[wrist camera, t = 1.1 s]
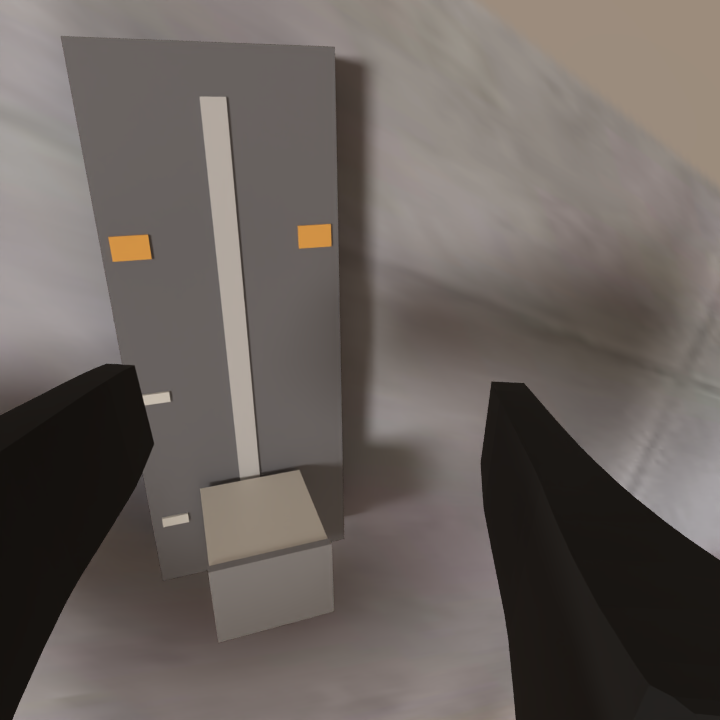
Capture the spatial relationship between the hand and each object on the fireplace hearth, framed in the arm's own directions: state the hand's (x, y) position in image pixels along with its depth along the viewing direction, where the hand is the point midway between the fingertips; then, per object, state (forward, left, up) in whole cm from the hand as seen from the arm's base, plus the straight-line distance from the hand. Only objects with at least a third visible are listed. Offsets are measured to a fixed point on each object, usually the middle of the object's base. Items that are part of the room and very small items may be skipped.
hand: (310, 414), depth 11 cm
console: (-2, 0, -12) cm, 12 cm away
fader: (-9, 0, -9) cm, 13 cm away
